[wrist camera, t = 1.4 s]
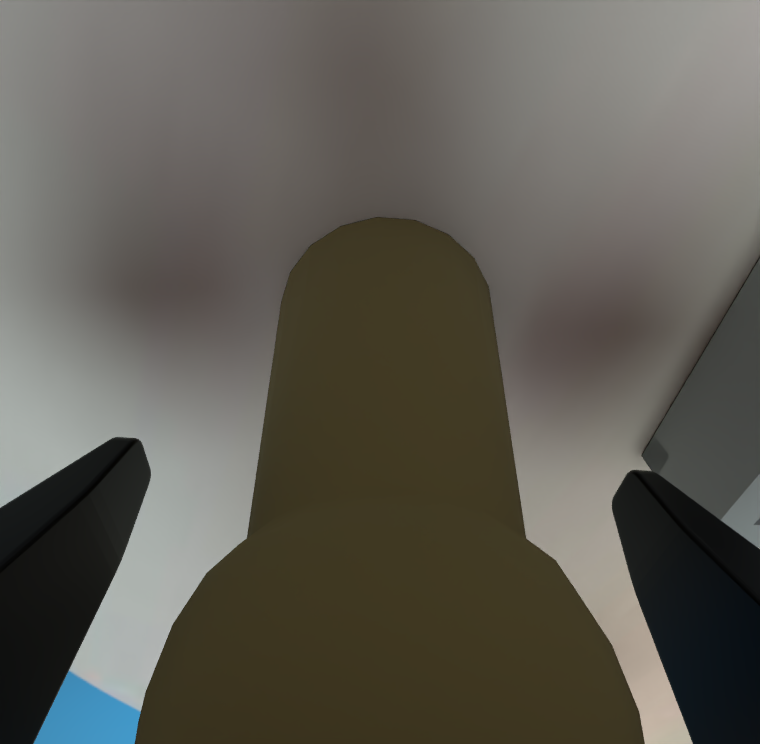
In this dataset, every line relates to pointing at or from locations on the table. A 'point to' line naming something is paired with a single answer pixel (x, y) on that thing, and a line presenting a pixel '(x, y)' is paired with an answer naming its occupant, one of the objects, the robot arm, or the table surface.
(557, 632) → the olive rounded piece
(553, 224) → the table surface
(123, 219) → the table surface
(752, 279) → the caddy
